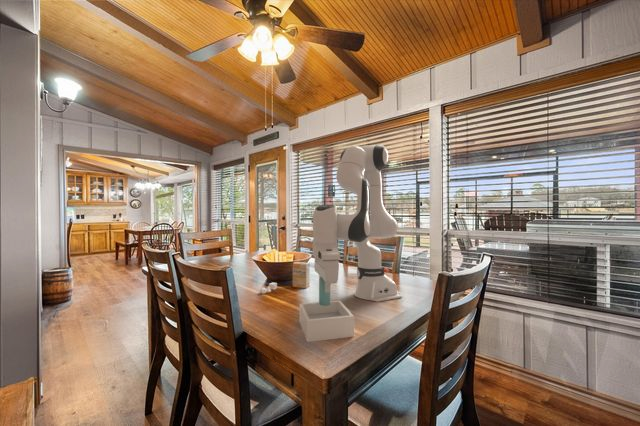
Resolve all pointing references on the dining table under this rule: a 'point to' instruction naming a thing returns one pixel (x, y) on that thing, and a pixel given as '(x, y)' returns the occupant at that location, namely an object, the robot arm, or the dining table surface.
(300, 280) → the supplement box
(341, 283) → the dining table surface
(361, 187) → the robot arm
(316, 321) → the peg box
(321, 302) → the peg
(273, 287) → the game pieces
